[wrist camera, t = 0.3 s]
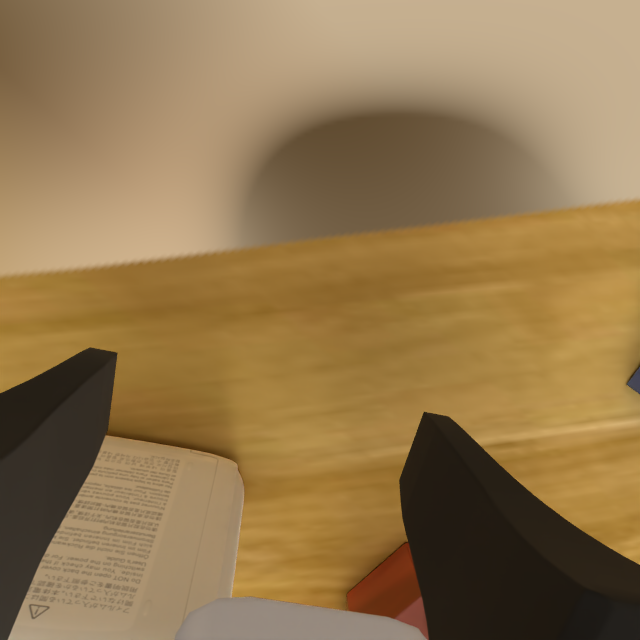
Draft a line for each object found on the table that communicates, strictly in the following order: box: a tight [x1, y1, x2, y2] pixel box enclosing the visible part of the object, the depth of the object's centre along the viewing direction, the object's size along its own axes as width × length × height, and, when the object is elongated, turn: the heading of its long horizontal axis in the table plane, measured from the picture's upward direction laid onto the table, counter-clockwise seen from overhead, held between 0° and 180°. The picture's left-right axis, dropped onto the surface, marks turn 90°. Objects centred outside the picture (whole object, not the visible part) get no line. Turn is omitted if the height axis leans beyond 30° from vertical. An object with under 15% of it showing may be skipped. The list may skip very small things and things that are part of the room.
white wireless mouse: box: [8, 435, 244, 640], centre depth 20 cm, size 10×4×12 cm, turn 78°
